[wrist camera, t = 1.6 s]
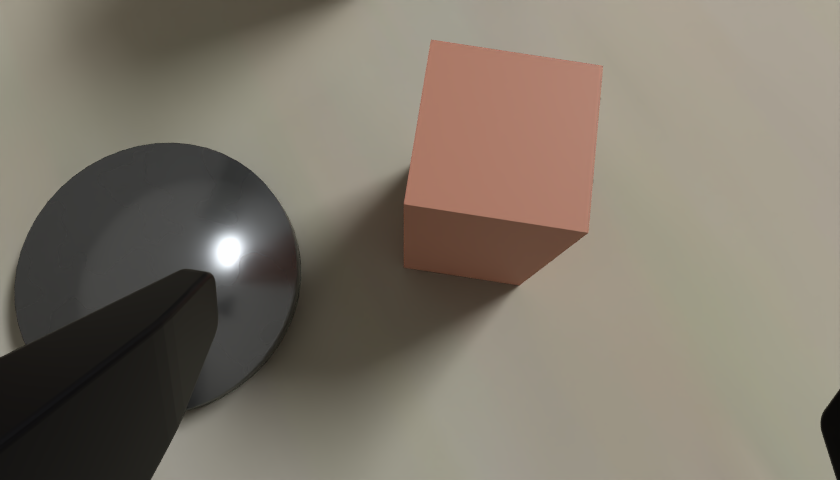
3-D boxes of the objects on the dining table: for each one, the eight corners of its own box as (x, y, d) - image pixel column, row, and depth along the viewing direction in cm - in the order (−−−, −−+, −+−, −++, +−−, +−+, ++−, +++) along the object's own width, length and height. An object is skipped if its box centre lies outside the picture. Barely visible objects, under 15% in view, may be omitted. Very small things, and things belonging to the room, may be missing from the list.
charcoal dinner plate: (270, 434, 21) (263, 437, 20) (-4, 391, 21) (-24, 391, 20) (323, 173, 23) (319, 164, 22) (76, 135, 23) (61, 124, 22)
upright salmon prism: (519, 285, 22) (588, 232, 14) (403, 267, 22) (403, 203, 14) (531, 175, 23) (602, 66, 15) (421, 159, 23) (431, 39, 15)
